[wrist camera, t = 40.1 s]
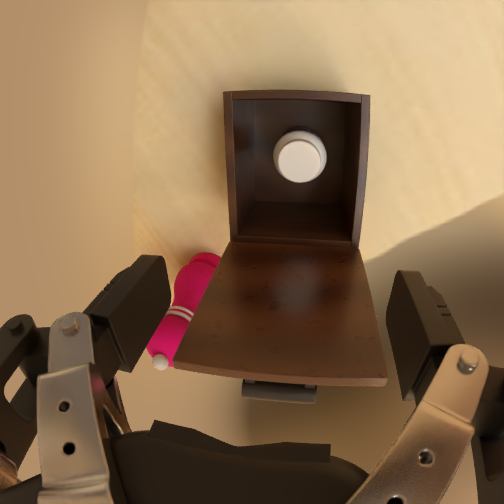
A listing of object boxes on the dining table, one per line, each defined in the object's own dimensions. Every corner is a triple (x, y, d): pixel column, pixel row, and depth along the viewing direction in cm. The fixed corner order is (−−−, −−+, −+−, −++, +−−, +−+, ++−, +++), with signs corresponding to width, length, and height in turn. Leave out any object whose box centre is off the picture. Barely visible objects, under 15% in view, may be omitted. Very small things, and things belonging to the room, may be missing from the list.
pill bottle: (327, 130, 34) (334, 140, 25) (318, 172, 37) (322, 196, 28) (282, 121, 34) (274, 128, 26) (275, 163, 37) (265, 184, 29)
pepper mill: (179, 255, 47) (115, 345, 29) (220, 244, 44) (167, 339, 27) (198, 293, 49) (149, 389, 32) (239, 284, 47) (201, 388, 30)
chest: (247, 94, 34) (223, 91, 24) (351, 96, 32) (370, 95, 22) (250, 204, 41) (230, 242, 31) (345, 209, 39) (358, 249, 29)
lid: (171, 360, 17) (186, 405, 19) (388, 378, 15) (367, 422, 18) (229, 241, 30) (232, 284, 33) (359, 248, 28) (352, 291, 31)
